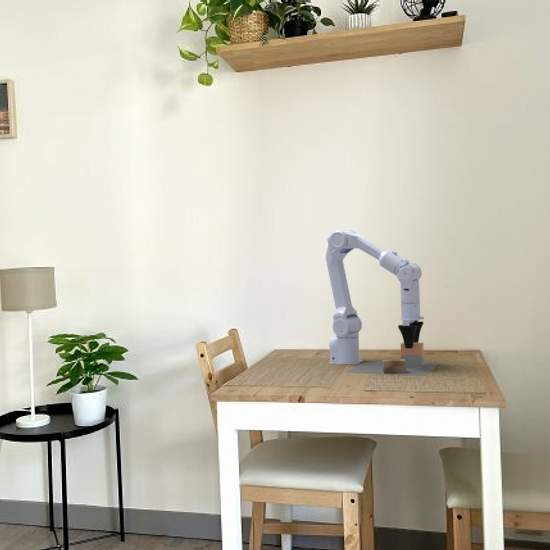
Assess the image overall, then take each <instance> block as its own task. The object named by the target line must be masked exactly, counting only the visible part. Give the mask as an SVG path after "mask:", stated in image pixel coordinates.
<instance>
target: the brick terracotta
mask: <svg viewBox="0 0 550 550" xmlns="http://www.w3.org/2000/svg"><path fill="white" fill-rule="evenodd" d="M424 351H425V350H424V342H418V343H414V344H413V348H405V345H404V341H403V342H401V343H400V356H401V355H410V356H422V355H423V356H424V353H425V352H424Z"/></svg>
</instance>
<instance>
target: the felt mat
mask: <svg viewBox="0 0 550 550" xmlns="http://www.w3.org/2000/svg"><path fill="white" fill-rule="evenodd" d="M438 365H439V363H429V362H427V363H426V362H424V366H423V367H406V373H386V374H384V372H383V361H377V360H375V361H372V360H370V361H369V360H363V361H362V362H360V363H358V364H356V366H355V367H352V368H350V369H349V370H348V371H346V373H353V374H354V373H355V374H379V375H398V376H399V375H400V376H401V375H402V376H403V375H404V376H418V377H419V376H421V377H425V376H426V377H427V376H428V375H429V374H430V373H432V371H433V370H434V369H435V368H436V367H437V366H438Z"/></svg>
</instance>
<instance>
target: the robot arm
mask: <svg viewBox="0 0 550 550" xmlns="http://www.w3.org/2000/svg"><path fill="white" fill-rule="evenodd" d="M354 249H359V250H361V251H362V252H364V253H366V254H367V255H370V256H371V257H372V258H375V259H377V260H378V263H379V265H380V267H382V268H383V269H384V270H386V271H388V272H389V273H391V274H393V275H394V276H396V278H397V279H398V281H399V282H400V309H401V311H400V313H401V317H400V320H401V321H402V324H398V326H397V327H398V330H399V332H400V333H401V335H402V340H403V342H404V345H405V348H413V344H414V343H419V341H420V334H421V330H422V327H423V325H424V321H420V320H424V319H425V317H424V316H421V299H420V297H421V296H420V279H421V278H422V268H421V267H420V266H419V265H418V264H417V263H412V262H411V263H410V260H409V259H405V258H403V257H401V256H400V255H398V252H397V251H395V250H392V251H391V250H386V251H384V250H383V249H381V248H380V247H379V246H377V245H376V244H375V243H373V242H372V241H370V240H369V239H367V238H366V237H365V236H363V235H362V234H360V233H357V232H356V231H354V230H341V229H337V230H334V231H332V233H330V235H329V236H328V238H327V249H326V254H325V261H326V265H327V266H326V267H327V271H328V276H329V281H330V287H331V291H332V292H331V293H332V295H333V300H334V301H333V302H334V307H335V311H334V313H333V315H332V320H333V321H332V322H333V323H332V330H333V332H334V334H335V335H336V336H331V337H330V339H329V345H328V346H329V364H340V365H341V364H342V365H346V364H347V365H359V364H361V363H362V362H364V360H363V359H360V341H359V340H360V338H359V336H360V335H359V332H360V331H361V330H362V327H363V326H362V325H363V323H362V320H361V319H360V317H359V316H358V312H357V310H356V309H355V308H354V306H353V304H352V300H351V294H350V289H349V285H348V280H347V279H348V278H347V275H346V269H345V265H344V259H345V258H346V256H347V255H348V254H349V253H350V252H351V251H353V250H354Z"/></svg>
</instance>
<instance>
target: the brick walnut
mask: <svg viewBox="0 0 550 550" xmlns="http://www.w3.org/2000/svg"><path fill="white" fill-rule="evenodd" d="M382 362H383V372H384V374H383V375H387V374H386V373H406V361H405V359H401V358H395V359H387V358H386V359H382Z"/></svg>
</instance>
